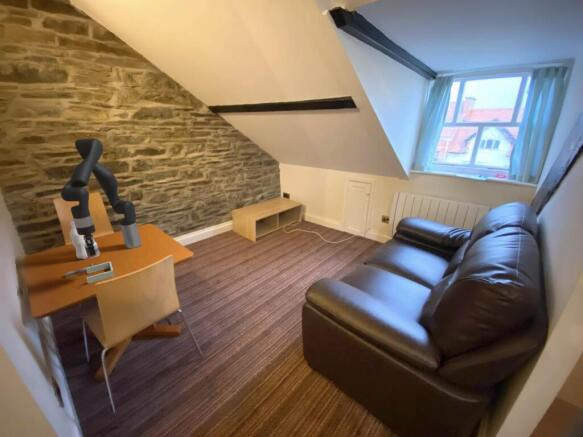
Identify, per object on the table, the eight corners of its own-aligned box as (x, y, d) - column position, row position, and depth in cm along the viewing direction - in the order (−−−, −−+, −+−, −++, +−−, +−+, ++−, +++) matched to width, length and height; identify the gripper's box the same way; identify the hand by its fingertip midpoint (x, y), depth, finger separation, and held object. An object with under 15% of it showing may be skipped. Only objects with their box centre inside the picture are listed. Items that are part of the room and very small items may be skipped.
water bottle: (83, 260, 151) (71, 224, 142) (74, 259, 153) (62, 223, 144) (94, 255, 158) (83, 220, 149) (85, 254, 159) (74, 218, 150)
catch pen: (112, 266, 146) (110, 261, 145) (114, 275, 137) (113, 270, 136) (87, 273, 139) (85, 268, 138) (88, 283, 130) (86, 278, 129)
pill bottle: (86, 255, 133) (81, 240, 130) (98, 252, 137) (94, 236, 134) (89, 259, 130) (84, 243, 127) (101, 255, 134) (96, 239, 130)
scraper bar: (94, 267, 146) (93, 262, 145) (94, 271, 141) (93, 267, 140) (66, 274, 138) (64, 270, 137) (65, 279, 134) (64, 274, 133)
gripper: (94, 227, 124) (102, 255, 130) (92, 219, 134) (100, 246, 140) (75, 230, 120) (84, 260, 126) (75, 222, 130) (84, 249, 136)
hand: (93, 252), depth 133 cm, fingers closed on pill bottle, 5 cm apart
